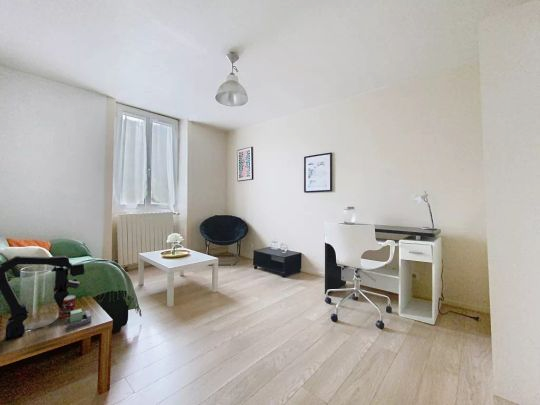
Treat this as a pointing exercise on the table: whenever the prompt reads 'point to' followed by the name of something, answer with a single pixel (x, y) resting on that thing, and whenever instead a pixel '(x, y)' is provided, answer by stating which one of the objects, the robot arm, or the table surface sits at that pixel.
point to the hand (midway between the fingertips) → (60, 304)
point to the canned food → (67, 306)
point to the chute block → (75, 315)
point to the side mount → (81, 322)
